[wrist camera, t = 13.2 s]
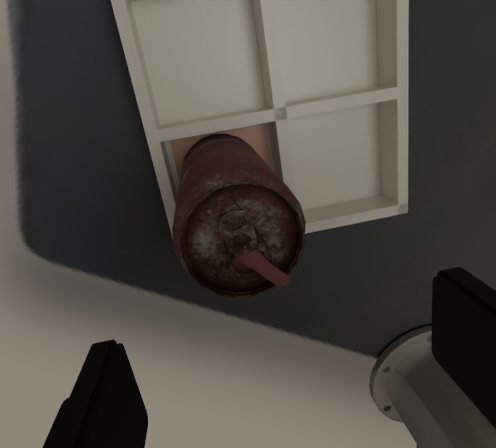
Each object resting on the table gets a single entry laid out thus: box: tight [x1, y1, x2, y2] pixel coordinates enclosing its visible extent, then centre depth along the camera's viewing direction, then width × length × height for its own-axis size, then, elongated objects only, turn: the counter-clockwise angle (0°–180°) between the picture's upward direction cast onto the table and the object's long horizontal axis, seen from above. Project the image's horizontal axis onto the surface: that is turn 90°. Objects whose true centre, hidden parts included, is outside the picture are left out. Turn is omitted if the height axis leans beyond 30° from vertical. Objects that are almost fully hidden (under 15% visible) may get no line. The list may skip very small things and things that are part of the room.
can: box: [172, 134, 306, 298], centre depth 22 cm, size 6×6×14 cm
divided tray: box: [111, 0, 409, 238], centre depth 27 cm, size 18×18×4 cm
